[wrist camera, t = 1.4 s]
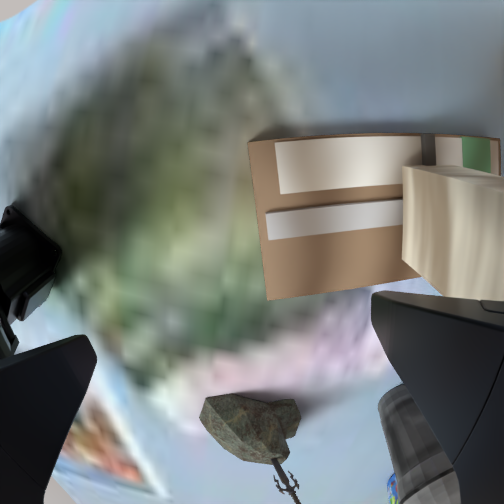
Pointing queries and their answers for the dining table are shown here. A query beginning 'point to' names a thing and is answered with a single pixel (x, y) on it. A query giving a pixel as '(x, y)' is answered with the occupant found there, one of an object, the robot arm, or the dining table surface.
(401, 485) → the beverage cup
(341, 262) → the gauge board
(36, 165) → the dining table surface
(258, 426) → the sword in stone
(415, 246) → the slider block
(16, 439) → the robot arm
